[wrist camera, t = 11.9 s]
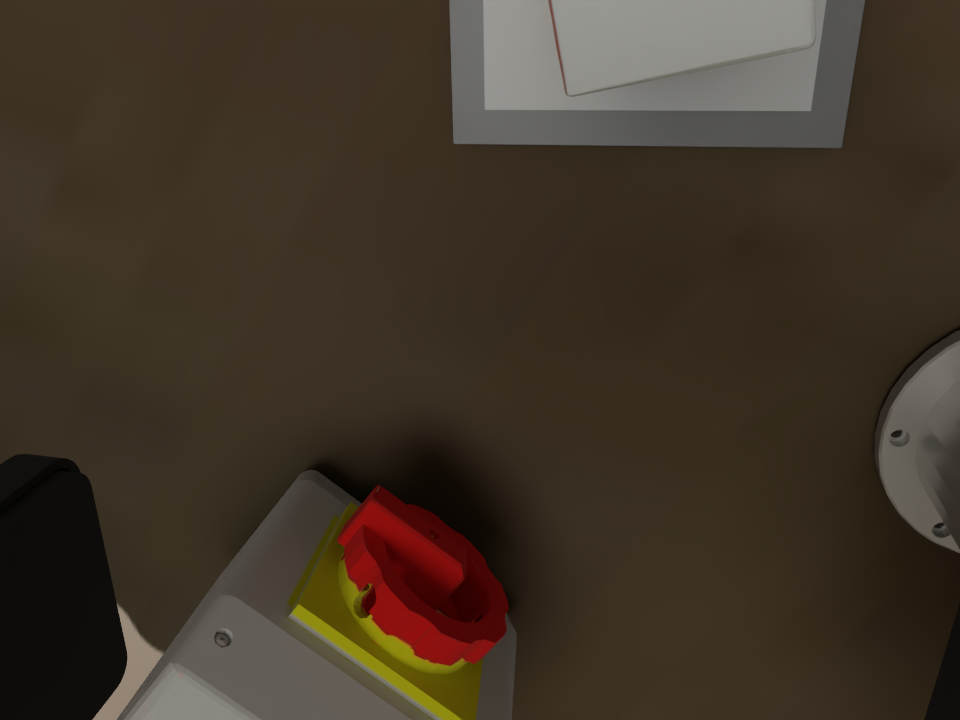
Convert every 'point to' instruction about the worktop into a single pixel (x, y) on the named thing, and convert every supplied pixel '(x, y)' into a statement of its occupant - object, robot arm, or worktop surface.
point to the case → (645, 88)
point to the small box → (670, 37)
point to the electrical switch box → (342, 622)
